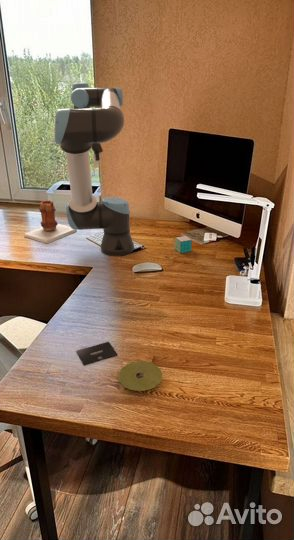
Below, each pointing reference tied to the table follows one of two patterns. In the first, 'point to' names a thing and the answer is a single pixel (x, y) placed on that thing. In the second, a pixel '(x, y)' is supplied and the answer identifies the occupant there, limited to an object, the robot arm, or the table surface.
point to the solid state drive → (96, 353)
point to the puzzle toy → (183, 244)
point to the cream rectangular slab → (50, 233)
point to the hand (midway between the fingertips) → (86, 165)
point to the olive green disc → (140, 375)
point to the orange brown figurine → (48, 215)
